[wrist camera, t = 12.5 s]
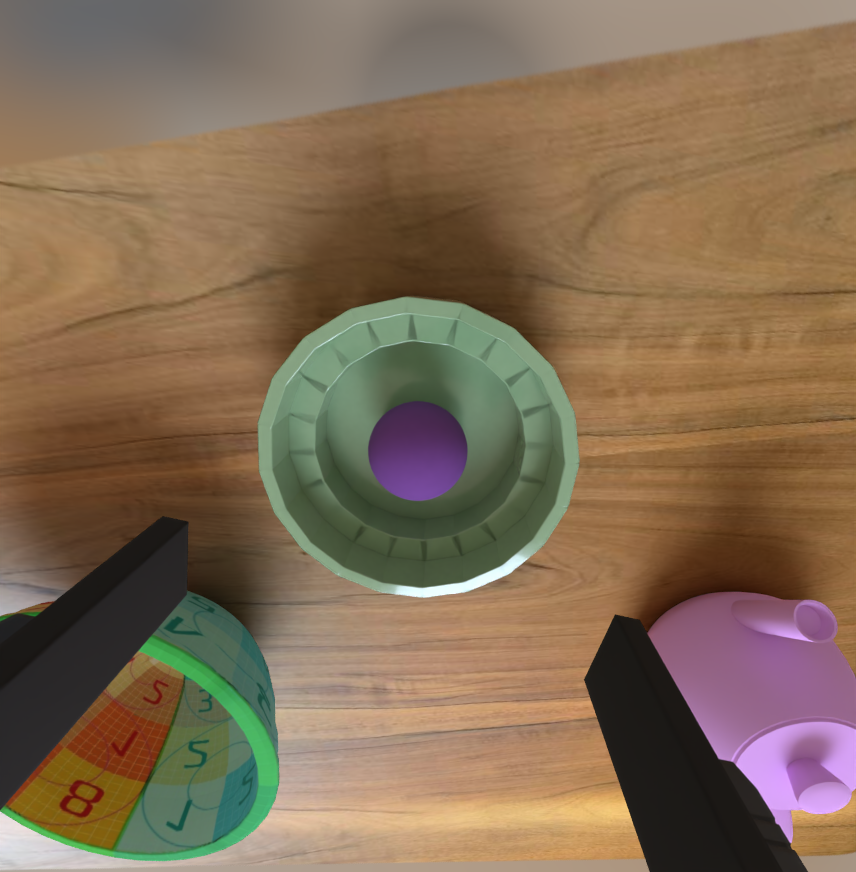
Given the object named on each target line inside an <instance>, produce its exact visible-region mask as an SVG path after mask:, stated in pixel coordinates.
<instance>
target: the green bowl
mask: <svg viewBox="0 0 856 872" xmlns="http://www.w3.org/2000/svg"><path fill="white" fill-rule="evenodd" d="M412 401H424V402H430V403H433V404H436V405H438V406H440V407H442V408H444V409H446V410H447V411H448V412H449V413H451V414H452V415H453V416H454V417H455V418H456V420H457V421H458V422H459V424H460V425H461V427H462V429H463V431H464V434H465V437H466V441H467V447H468V453H467V461H466V465H465V468H464V471H463V473H462V475H461V477H460V478H459V480H458V481H457V482H456V483H455V485H454V486H453V487H452V488H450V489H449V490H448V491H447V492H445V493H444V494H442V495H440V496H438V497H435V498H432V499H429V500H422V501H413V500H407V499H403V498H400V497H398V496H396V495H394V494H392V493H390V492H389V491H388V490H386V489H385V488H384V487H383V486H382V485H381V484H380V483H379V481H378V480H377V479H376V477H375V475H374V473H373V471H372V469H371V466H370V463H369V457H368V445H369V440H370V436H371V433H372V431H373V428H374V427H375V425H376V423H377V422H378V421H379V419H380V418H381V417H382V416H383V415H384V414H385V413H386V412H388V411H389V410H390V409H392V408H394V407H396V406H398V405H400V404H403V403H407V402H412ZM258 454H259V473H260V475H261V478H262V481H263V484H264V486H265V489H266V492H267V494H268V497H269V500H270V503H271V505H272V508H273V511H274V513H275V515H276V516H277V517H278V518H279V520H280V521H281V522H282V524H283V525H284V526H285V528H286V529H287V530H288V532H289V533H290V534H291V536H292V537H293V538H294V539H295V541H296V542H297V543H298V545H299V546H300V547H301V548H302V549H303V550H304V551H305V552H307V553H308V554H309V555H311V556H312V557H313V558H315V559H316V560H317V561H319V562H320V563H321V564H323V565H324V566H325V567H327V568H328V569H329V570H331V571H332V572H333V573H335V574H336V575H338V576H340V577H342V578H345V579H347V580H350V581H353V582H355V583H358V584H360V585H363V586H365V587H368V588H370V589H373V590H375V591H378V592H382V593H390V594H398V595H406V596H414V597H424V598H426V597H433V596H441V595H448V594H455V593H463V592H467V591H471V590H473V589H475V588H478V587H480V586H482V585H485V584H487V583H490V582H492V581H494V580H497V579H499V578H501V577H504V576H506V575H508V574H510V573H511V572H512V571H513V570H515V569H516V568H517V567H518V566H520V565H521V564H522V563H523V562H524V561H526V560H527V559H528V558H529V557H531V556H532V555H533V554H534V553H535V552H537V551H538V550H539V549H540V548H542V547H543V545H544V544H545V543H546V541H547V539H548V538H549V536H550V535H551V533H552V532H553V530H554V529H555V527H556V526H557V524H558V523H559V521H560V520H561V518H562V517H563V515H564V513H565V512H566V510H567V509H568V506H569V502H570V498H571V494H572V490H573V487H574V483H575V479H576V475H577V471H578V467H579V461H580V459H579V449H578V438H577V427H576V416H575V412H574V410H573V407H572V405H571V403H570V401H569V399H568V397H567V395H566V393H565V391H564V388H563V386H562V384H561V382H560V380H559V378H558V376H557V374H556V371H555V369H554V368H553V366H552V365H551V364H550V363H549V362H548V361H547V360H546V359H545V358H544V357H543V356H542V355H541V354H540V353H539V352H538V351H537V350H536V349H535V348H534V347H533V346H532V345H531V344H530V343H529V342H528V341H527V340H526V339H525V338H524V337H523V336H522V335H521V334H520V333H519V332H518V331H517V330H516V329H515V328H513V327H512V326H510V325H508V324H506V323H504V322H502V321H501V320H499V319H497V318H494V317H492V316H490V315H488V314H486V313H484V312H482V311H480V310H478V309H476V308H474V307H472V306H470V305H468V304H466V303H463V302H461V301H457V300H449V299H441V298H432V297H424V296H405V297H400V298H395V299H391V300H386V301H382V302H377V303H372V304H368V305H363V306H359V307H354V308H351V309H348V310H347V311H345V312H344V313H342V314H340V315H339V316H337V317H335V318H334V319H332V320H331V321H329V322H327V323H326V324H324V325H323V326H321V327H319V328H318V329H316V330H314V331H313V332H311V333H310V334H308V335H306V336H305V337H304V338H303V339H302V340H301V342H300V343H299V344H298V345H297V347H296V348H295V349H294V350H293V352H292V353H291V354H290V356H289V357H288V358H287V359H286V361H285V362H284V363H283V364H282V366H281V367H280V368H279V369H278V371H277V372H276V373H275V375H274V376H273V378H272V380H271V383H270V386H269V389H268V392H267V395H266V398H265V401H264V405H263V408H262V411H261V414H260V417H259V420H258Z"/></svg>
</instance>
